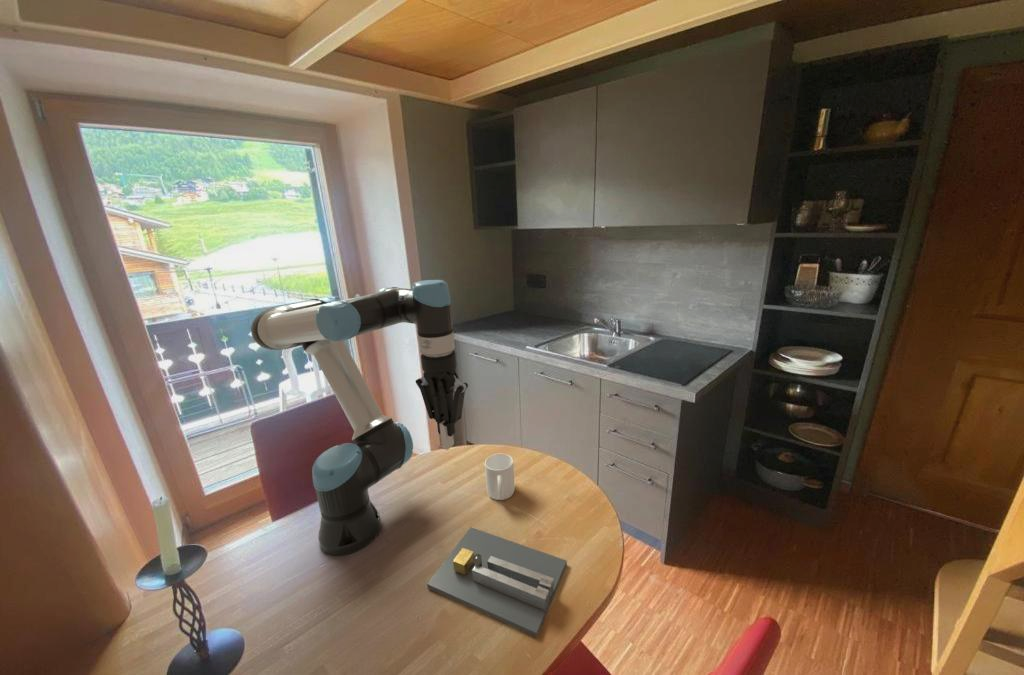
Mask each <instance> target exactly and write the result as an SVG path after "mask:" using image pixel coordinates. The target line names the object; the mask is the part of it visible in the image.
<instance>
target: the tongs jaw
mask: <svg viewBox="0 0 1024 675" xmlns="http://www.w3.org/2000/svg"><path fill="white" fill-rule="evenodd" d="M487 564H488V569H489V570H491V571H494V572H496V573H499V574H502V575H504V576H507V577H509V578H512V579H514V580H517V581H519V582H522V583H524V584H527V585H529V586H532V587H535V588H537V587H538V586H540V587H542V588H545V589H548V590H549V598H551V596H552V593H553V591H554V578H551V577H549V576H546V575H543V574H540V573H537V572H535V571H532V570H529V569H526V568H523V567H521V566H518V565H515V564H512V563H509V562H507V561H504V560H501V559H498V558H495V557H493V556H490V558H489V559H488V561H487Z"/></svg>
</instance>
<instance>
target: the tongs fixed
mask: <svg viewBox="0 0 1024 675" xmlns="http://www.w3.org/2000/svg"><path fill="white" fill-rule="evenodd" d="M473 560H474V568H473V569H472V575H473V581H475V582H477V583H480V584H482V585H484V586H487V587H489V588H492V589H494V590H496V591H499V592H501V593H504V594H506V595H508V596H511V597H513V598H516V599H518V600H520V601H523V602H525V603H528V604H530V605H532V606H535V607H537V608H540V609H542V610H544V611H546V608H547V606H548V604H549V590H548V589H545V588H542V587H540V586H538V587H537V588H535V587H532V586H529V585H527V584H524V583H522V582H519V581H517V580H514V579H512V578H509V577H507V576H504V575H502V574H499V573H496V572H494V571H491V570H489V569H486V568H484V567H482V558H481V555H480V554H476V555H474V557H473Z"/></svg>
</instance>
